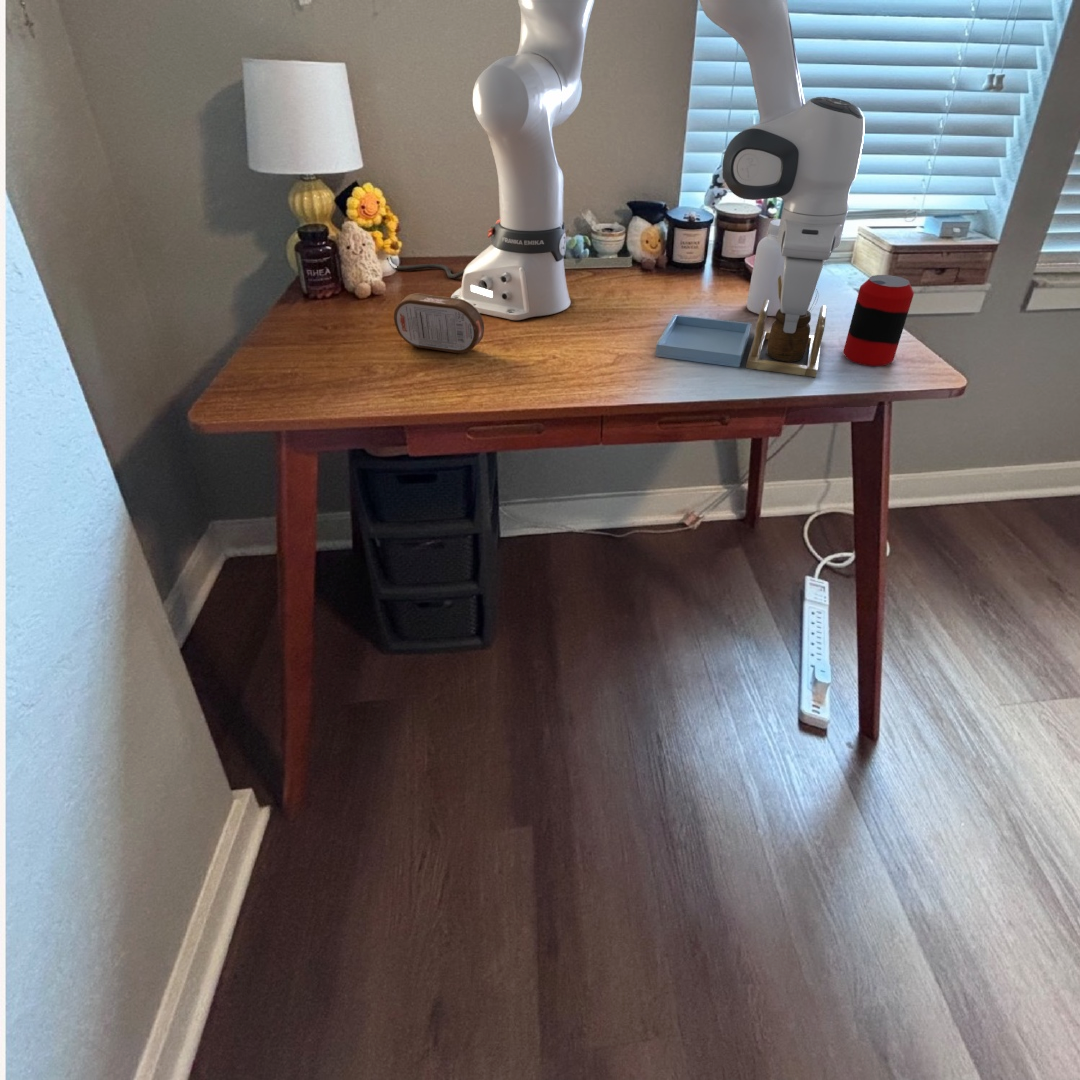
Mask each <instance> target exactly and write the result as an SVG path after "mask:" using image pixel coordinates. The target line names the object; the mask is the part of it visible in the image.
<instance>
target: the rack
mask: <svg viewBox="0 0 1080 1080" xmlns="http://www.w3.org/2000/svg"><path fill="white" fill-rule="evenodd" d="M768 306H769V300H768V299H765V300H764V302H763V305H762V308H761V311H760V314H758V317H757V321H756V326H755V332H754V337H753V341H752V343H751V347H750V350H749V354H748V356H747V361H746V365H745V368H746V369H751V370H758V371H766V372H773V373H782V374H789V375H797V376H804V377H812V378H817V374H818V369H819V361H820V353H821V347H822V340H823V336H824V332H825V328H826V319H827V318H826V317H827V310H828V307H827V305H824V304H823V305H821V307H820V310H819V314H818V318H817V321H816V326H815V330H814V335H812V334H810V335H809V339H808V344H807V346H808V345H809V346H808V347H809V348H808V352H807V359H806V365H805V364H797V363H791V362H784V361H774V360H767V359H760V357H761V354H762V350H763V347H764V343H765V340H767V341H769V336H770V331H771V329H765V327H766V322H767V317H768V316H767V312H768Z"/></svg>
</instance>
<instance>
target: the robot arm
mask: <svg viewBox="0 0 1080 1080" xmlns="http://www.w3.org/2000/svg"><path fill="white" fill-rule="evenodd" d="M517 2H518V6H519V9H520V33H519V34H520V36H519V44H518V49H517V51H516V54H513V55H507V56H503V57H501V58H499V59H497V60H495V61H494V62H493V63H491V64H490V65H489V66H487V67H486V68H485V69H484V70H483V71H482V72H481V73H480V74H479V76H478V77H477V79H476V80H475V82H474V87H473V90H472V108H473V112H474V115H475V118H476V119H477V122H478V123H479V125H480V126H481V127H482V129H483V130H484V132H485V133H486V135H487V138H488V140H489V145H490V148H491V152H492V155H493V160H494V163H495V168H496V174H497V182H498V184H497V185H498V200H499V201H498V202H499V203H498V205H499V219H498V220H496V222H495V224H493V225H492V226H491V227H490V229H488V230H487V231H486V232H487V233H488V234H487V238H491V244H490V245H489V246H487V247H486V248H485V249H484V250H482V251H481V252H480V253H479V254H478V255H477V256H476V257H475V258H473V259H472V260H471V261H470V262H469V263H468V264H467V265H466V266H465V268H464V269H463V270H461V271H459V272H456V273H452V272H451V269H450V268H449V266H447V265H445V264H441V263H424V264H423V263H422V264H414V265H413V264H412V265H399V264H398V265H399V266H397V268H395V269H394V270H398V271H413V270H415V271H416V270H424V269H440V270H444V271H445V273H446V276H447V278H449V279H452V280H453V279H454V280H455V279H459V278H461V277H462V279H461V287H459V288H458V289H456V290H455V291H454V292H453V293H452V294H451V296H450V298H457V299H462V300H465V301H467V302H469V303H470V304H472V305H473V306H474V307H475V308H476V309H477V310H478V312H479V313H480V314H483V315H488V316H492V317H496V318H497V317H498V318H502V319H506V320H511V321H521V320H525V319H529V318H534V317H543V316H549V315H553V314H557V313H561V312H562V311H565V310H567V309H568V308H569V307H570V306H571V304H572V301H571V298H570V294H569V290H568V285H567V279H566V272H565V271H566V269H565V259H564V258H565V257H566V249H567V234H566V223H565V221H564V181H565V180H564V179H565V178H564V173H563V171H562V168H561V167H560V165H559V163H558V159H557V155H556V151H555V146H554V140H553V128H556V127H558V126H560V125H562V124H563V123H565V121H567V120H568V119H569V117H571V115H572V114H574V112H575V110H576V109H577V107H578V105H579V103H580V102H581V97H582V92H583V84H582V83H583V82H582V77H581V75H582V74H581V73H582V67H583V62H584V61H583V59H584V53H585V52H584V51H585V44H586V37H587V33H588V27H589V22H590V18H591V14H592V10H593V7H594V3H595V0H517ZM699 3H700V6H701V9H702V11H703V13H704V15H705V16H706V18H707V19H708V20H710V21H711V22H712V23H713V24H714V25H716V26H717V27H719V28H720V29H722V30H723V31H725V32H726V33H727V34H728V35H729V36H730V37H732V38H733V39H734V40H735V41H736V42H737V43H738V45H739V46H740V47H741V48H742V51H743V52H744V54H745V56H746V58H747V62H748V64H749V69H750V74H751V79H752V83H753V89H754V94H755V100H756V105H757V110H758V115H759V122H758V124H754V125H751V126H749V127H747V128H745V129H743V130H741V131H740V132H739V133H737V134H736V135H735V136H734V137H733V138H732V139H731V140H730V142H729V143H728V145H727V146H726V148H725V151H724V154H723V158H722V176H723V180H724V183H725V184H726V186H727V188H728V190H729V191H730V192H731V193H732V194H733V195H734V196H736V197H738V198H739V199H743V200H749V201H760V200H767V199H768V200H769V199H774V198H779V199H782V200H783V204H782V210H781V215H780V219H781V220H780V225H779V231H778V236H777V241H778V242H779V243H780V246H781V255H782V256H784V267H783V278H782V289H781V302H780V309H781V312H782V313H784V314H786V315H785V323H784V328H783V331H784V332H785V333H794V332H795V331H796V327H797V322H798V319H799V316H800V315H805V314H806V312H807V310H808V311H809V309H810V305H811V302H812V300H813V297H814V294H815V292H816V291H815V290H816V289H817V285H818V282H819V279H820V276H821V273H822V271H823V268H824V265H825V262H826V261H828V260H830V257H831V255H832V253H833V252H834V250H835V249H837V248H839V247H840V246H841V242H842V238H843V233H844V229H845V224H846V220H847V217H848V213H849V203H850V202H849V197H850V195H849V194H850V191H851V188H852V186H853V183H854V182H855V180H856V178H857V175H858V169H859V166H860V161H861V156H862V149H863V144H864V136H865V124H866V123H865V116H864V113H863V111H862V110H861V108H860V107H858V106H857V105H855V104H854V103H852V102H850V101H847V100H844V99H840V98H835V97H828V96H816V97H812V98H810V99H808V100H807V101H806V100H805V96H804V92H803V91H804V90H803V86H802V80H801V73H800V68H799V63H798V56H797V50H796V43H795V39H794V33H793V32H794V31H793V27H792V22H791V18H790V14H789V13H790V12H789V7H788V0H699Z"/></svg>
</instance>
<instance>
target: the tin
mask: <svg viewBox="0 0 1080 1080" xmlns="http://www.w3.org/2000/svg"><path fill="white" fill-rule="evenodd" d="M393 320H394V321H393V322H394V325H395V329H396V331H397V333H398V335H399V336H400V337H401V338H402V339H403V340H404V342H406V343H407V344H408V345H411V346H412V347H415V348H419V349H427V350H432V351H433V350H434V351H442V352H448V353H454V354H465V353H468V352H470V351H471V350H473V349H474V348H475V347H476V346H477V345H478V344H479V343H480V342H481V341H482V339H483V337H484V333H485V324H484V320H483V317H482V315H481V313H479V312H478V310H477V309H476V308H475V307H474V306H473V305H472V304H470V303H469V302H467V301H465V300H462V299H457V298H451V297H450V296H439V295H433V294H425V293H419V292H418V293H417V292H416V293H410V294H408V295H406V296H405V297H404V298H402V300H401V301H400V302H399V303H398V304H397V305H396V307H395V309H394V312H393Z"/></svg>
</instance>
